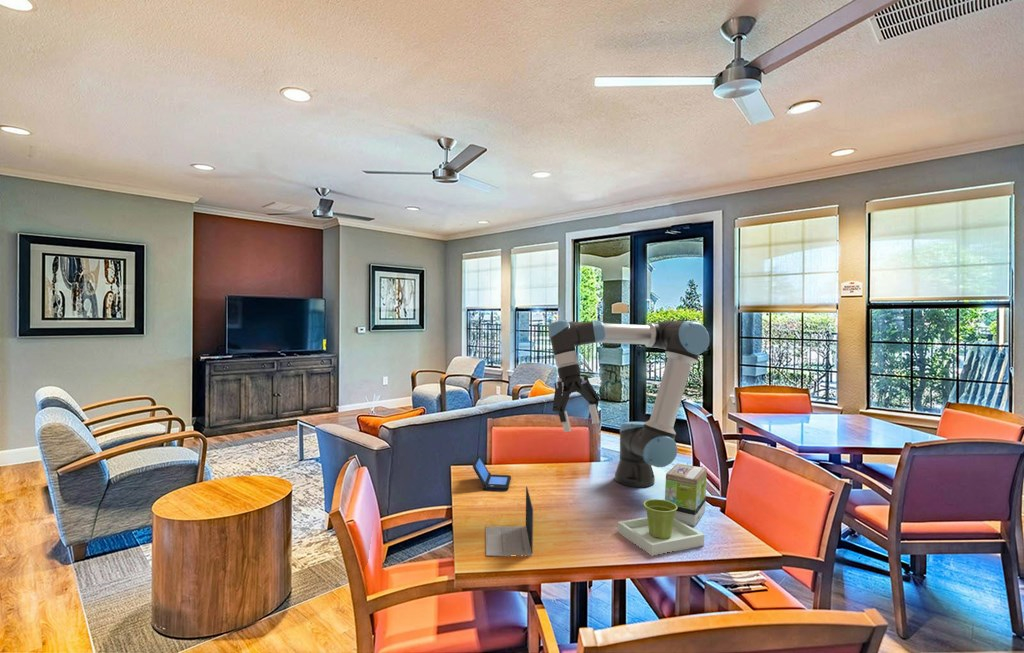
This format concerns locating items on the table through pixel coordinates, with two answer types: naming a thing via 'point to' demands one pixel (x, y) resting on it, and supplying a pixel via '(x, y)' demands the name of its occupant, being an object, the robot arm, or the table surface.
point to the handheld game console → (490, 477)
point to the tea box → (687, 492)
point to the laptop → (512, 536)
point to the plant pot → (660, 517)
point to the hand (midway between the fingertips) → (582, 427)
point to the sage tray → (677, 541)
